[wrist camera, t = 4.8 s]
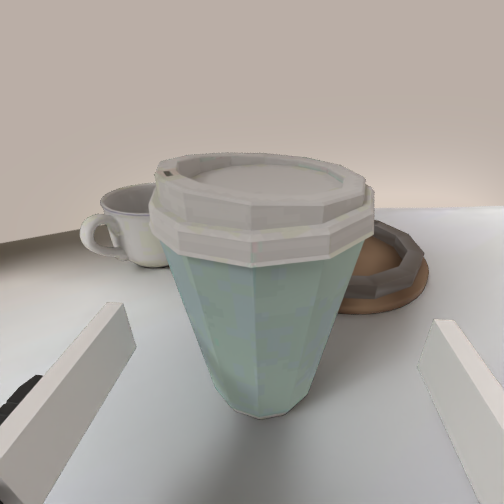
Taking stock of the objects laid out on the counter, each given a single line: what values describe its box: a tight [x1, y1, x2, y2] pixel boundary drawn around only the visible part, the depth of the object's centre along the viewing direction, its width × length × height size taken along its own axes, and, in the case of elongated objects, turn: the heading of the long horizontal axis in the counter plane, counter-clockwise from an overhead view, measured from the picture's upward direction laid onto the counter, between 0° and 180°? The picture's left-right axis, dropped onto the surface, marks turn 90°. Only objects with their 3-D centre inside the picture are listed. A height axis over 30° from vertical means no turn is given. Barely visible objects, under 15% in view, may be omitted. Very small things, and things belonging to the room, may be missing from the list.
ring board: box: [338, 220, 429, 314], centre depth 34 cm, size 19×19×2 cm
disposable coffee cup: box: [148, 153, 374, 419], centre depth 17 cm, size 11×11×15 cm
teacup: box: [80, 183, 169, 267], centre depth 34 cm, size 14×11×8 cm
